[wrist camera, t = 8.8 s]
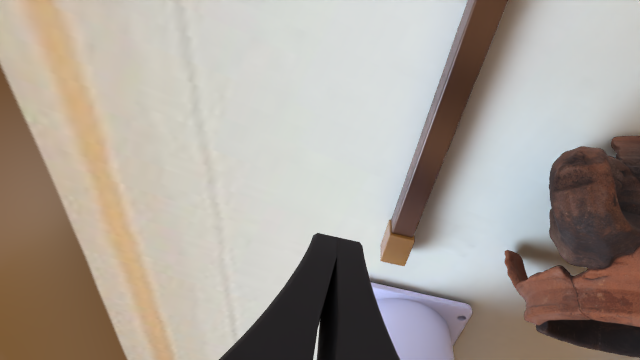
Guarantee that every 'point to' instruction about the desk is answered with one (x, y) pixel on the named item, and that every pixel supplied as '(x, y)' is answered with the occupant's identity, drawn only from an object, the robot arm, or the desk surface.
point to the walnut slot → (441, 123)
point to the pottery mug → (590, 252)
